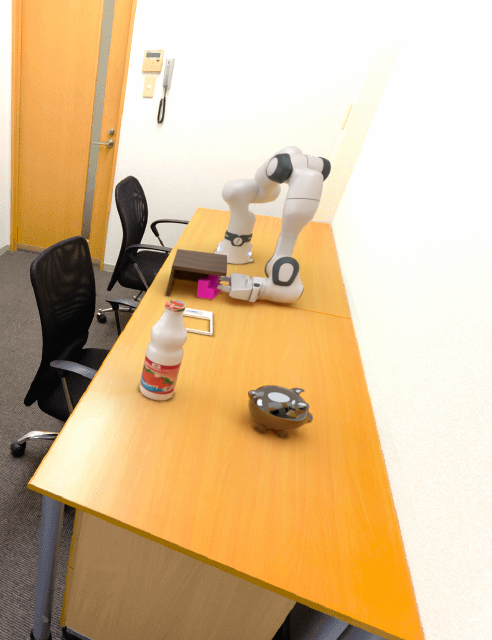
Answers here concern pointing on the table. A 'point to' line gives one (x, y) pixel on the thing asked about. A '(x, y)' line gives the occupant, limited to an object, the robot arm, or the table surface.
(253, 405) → the piggy bank
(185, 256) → the shelf
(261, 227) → the table surface
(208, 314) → the photo frame
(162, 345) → the fruit juice
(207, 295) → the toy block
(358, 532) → the table surface
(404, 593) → the table surface
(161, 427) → the table surface
